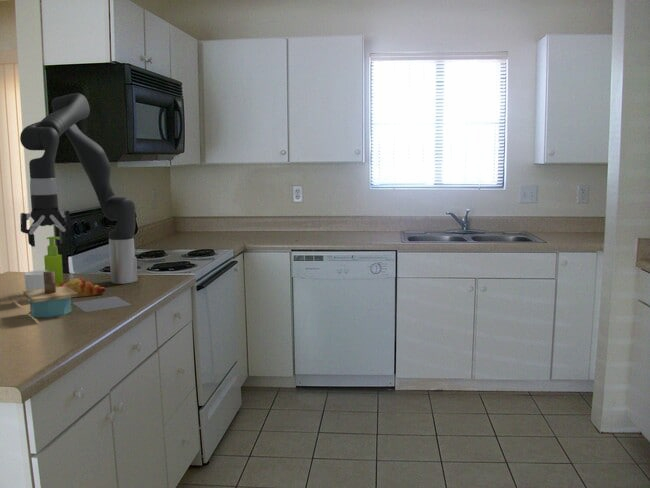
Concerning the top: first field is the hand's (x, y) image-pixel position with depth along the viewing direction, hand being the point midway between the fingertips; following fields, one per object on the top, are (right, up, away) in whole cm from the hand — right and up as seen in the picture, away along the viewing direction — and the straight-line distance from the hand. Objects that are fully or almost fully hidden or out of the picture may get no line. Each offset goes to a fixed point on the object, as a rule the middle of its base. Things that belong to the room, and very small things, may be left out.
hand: (47, 244), depth 190 cm
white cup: (-12, -20, +19) cm, 30 cm away
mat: (+12, -20, +13) cm, 27 cm away
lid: (0, -16, +2) cm, 16 cm away
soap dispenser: (-12, -17, +35) cm, 41 cm away
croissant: (-2, -19, +27) cm, 33 cm away
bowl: (0, -22, +3) cm, 22 cm away
